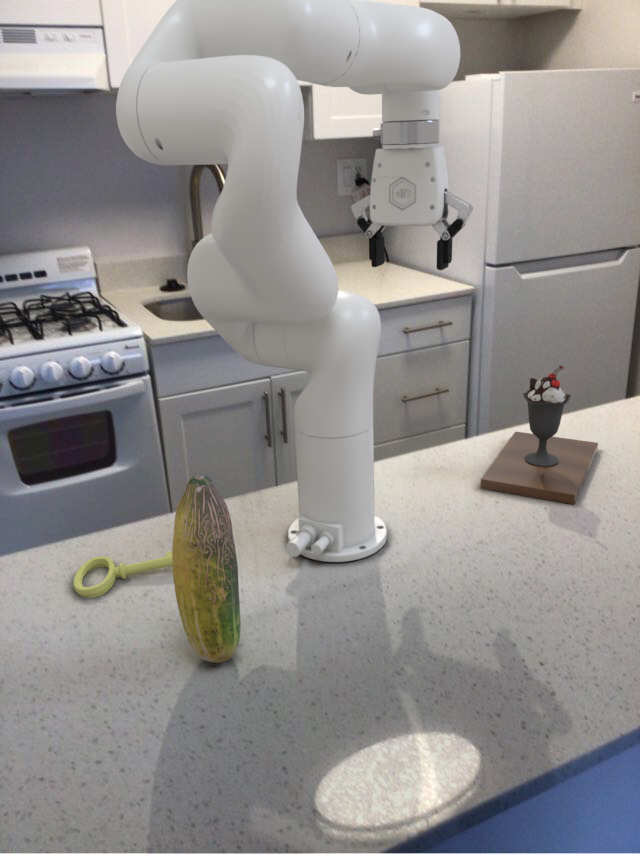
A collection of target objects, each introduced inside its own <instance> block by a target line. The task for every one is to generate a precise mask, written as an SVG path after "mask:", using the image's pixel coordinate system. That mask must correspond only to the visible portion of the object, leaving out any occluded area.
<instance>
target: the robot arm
mask: <svg viewBox="0 0 640 854" xmlns="http://www.w3.org/2000/svg"><path fill="white" fill-rule="evenodd" d="M460 63H461V44H460V39H459V35H458V33H457V31H456V29H455V27H454V25H453V24H452V22H451V21H449V19H448V18H447V17H445V16H444V15H442V14H440V13H438V12H436V11H434V10H433V9H429V8H426V7H422V6H417V5H416V6H415V5H408V4H401V3H400V4H399V3H392V2H385V1H380V0H175V1H174V2H173V4H172V5H170V7H169V8H168V9H167V11H166V12H165V13H164V14H163V16H162V18H160V20H159V22H158V23H157V24H156V26H155V27H154V29H153V30H152V32H151V34H150V35H149V36H148V38H147V39H146V41H145V42H144V44H143V45H142V47H141V48H140V49H139V51H138V53H137V54H136V55H135V57H134V59H133V60H132V61H131V63H130V64H129V66H128V68H127V69H126V71H125V73H124V74H123V77H122V79H121V81H120V84H119V88H118V91H117V95H116V103H115V116H116V123H117V127H118V131H119V133H120V136H121V138H122V140H123V142H124V143H125V144H126V146H127V147H128V149H130V151H131V153H134V155H136V156H137V157H138V158H140V159H142V160H144V161H145V162H148V163H150V164H155V165H159V166H201V165H203V166H204V165H207V166H208V165H227V171H226V176H225V180H224V183H223V187H222V190H221V192H220V194H219V195H218V198H217V199H216V202H215V205H214V208H213V211H212V214H211V221H210V229H211V233H209V234H207V235H206V236H203V237H202V238H201V239H200V240H199V241H198V242H197V243H196V245H195V246H194V248H193V249H192V251H191V253H190V255H189V259H188V262H187V271H186V276H187V277H186V278H187V286H188V291H189V293H190V297H191V300H192V302H193V305H194V306H195V308H196V310H197V311H198V313H199V314H200V316H201V317H202V318H203V319H204V320H205V321H206V322H207V324H208V325H209V326H210V327H212V329H214V331H216V333H217V334H218V335H219V336H220V337H221V338H222V339H223V340H224V341H225V342H226V343H227V344H228V345H229V346H230V347H231V348H232V349H233V350H234V351H235V352H236V353H237V354H238V355H239V356H240V357H241V358H243V359H244V360H246V361H248V362H250V363H252V364H254V365H258V366H264V367H271V368H276V369H277V368H279V369H287V370H297V371H299V372H307V373H309V375H310V379H309V381H308V383H307V385H306V386H305V387H304V388H303V390H302V391H301V392H300V394H299V395H298V397H297V399H296V401H295V404H294V407H293V426H294V427H293V428H294V443H295V444H294V445H295V460H296V461H295V463H296V479H297V480H296V481H297V499H298V500H297V501H298V502H297V503H298V517H297V518H296V519H295V520H294V521H293V522H291V524H290V525H289V527H288V530H287V541H288V542H287V543H286V545H285V552H286V553H287V555H288V556H290V557H292V558H297V557H299V556H300V555H301V556H303V557H305V558H308V559H310V560H314V561H319V562H327V563H346V562H352V561H353V562H354V561H357V560H361V559H364V558H367V557H370V556H371V555H373V554H375V553H377V552H378V551H380V550H381V549H382V548H383V547H384V545H385V544H386V542H387V539H388V529H387V526H386V523H385V522H384V520H382V519H381V518H380V517H379V516H377V515H376V513H375V457H374V456H375V447H374V445H375V442H374V441H375V440H374V439H375V438H374V435H375V434H374V433H375V432H374V430H375V429H374V392H375V391H374V388H375V374H376V366H377V359H378V354H379V348H380V342H381V334H382V321H381V320H382V319H381V315H380V312H379V310H378V308H377V307H376V305H375V304H374V303H373V302H372V301H371V300H370V299H369V298H367V297H365V296H363V295H361V294H359V293H355V292H352V291H349V290H342V289H339V279H338V276H337V275H338V274H337V271H336V269H335V267H334V265H333V262H332V260H331V258H330V257H329V255H328V253H327V252H326V250H325V248H324V247H323V244H321V241H320V239H318V236H317V235H316V234H315V232H314V230H313V228H312V227H311V225H310V223H309V222H308V220H307V219H306V217H305V215H304V213H303V211H302V209H301V207H300V205H299V202H298V197H297V196H298V195H297V194H298V191H297V188H298V177H299V170H300V164H301V156H302V155H301V154H302V145H303V136H304V126H305V104H304V98H303V93H302V90H301V86H300V84H299V82H298V81H300V82H305V83H309V84H313V85H319V86H322V87H330V88H349V89H350V90H352V91H354V92H355V93H357V94H360V95H365V96H366V95H368V96H369V95H381V123H380V127H378V128H373V129H372V138H373V140H378V141H380V145H381V148H375V153H374V157H373V163H372V172H371V181H370V192H369V194H368V195H367V196H364V197H363V198H361V199H359V200H358V201H356V202H355V203H353V204H352V205H351V206H350V210H351V212H352V214H353V216H354V218H355V220H356V224H357V226H358V227H359V228H360V229H361V230H362V231H363V232H364V235H365V237H366V238H367V239H368V259H369V261H371V267H372V268H377V267H380V266H382V265H384V264H385V260H386V259H385V236H384V235H382V232H383V231H384V230H385V228H387V227H388V226H389V227H391V226H392V227H430V226H431V227H432V228H433V229H434V230H435V231H436V233H437V234H438V235H439V239H438V240H437V241H436V270H438V271H443V270H445V269H448V268H449V264H451V263H452V261H453V238H455V237H456V235H457V234H458V233H459V232H460V231H461V230H462V229H463V228H464V227H465V226H466V225H467V221H468V220H469V219H470V216H471V214H472V212H473V210H474V206H473V204H471V203H470V202H468V201H466V200H464V199H462V198H460V197H459V196H457V195H455V194H453V193H451V192H450V189H449V173H448V166H447V159H446V154H445V153H446V152H445V148H444V146H440V120H441V119H440V117H441V116H440V113H441V112H440V111H441V110H440V109H441V90H443V89H445V88H447V87H448V86H449V85H450V84H451V83H452V82H453V81H454V79H455V78H456V75H457V73H458V70H459V66H460ZM450 207H451V208H453V209H454V210H457V212H458V213H457V216H456V218H455V219H454V220H453V221H452V223H450V222H449V220H448V218H449V211H450ZM367 208H369V217H368V216H367V213H366V209H367Z"/></svg>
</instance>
